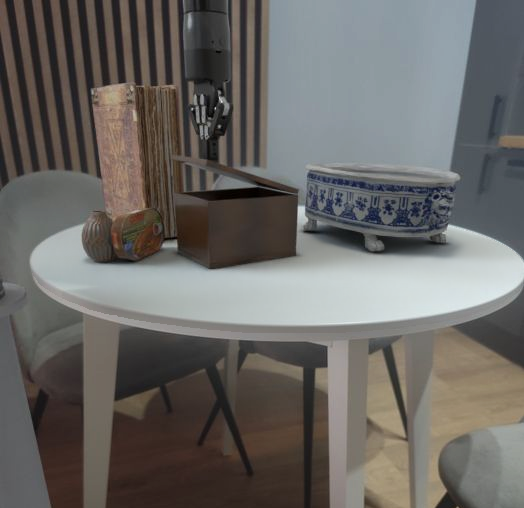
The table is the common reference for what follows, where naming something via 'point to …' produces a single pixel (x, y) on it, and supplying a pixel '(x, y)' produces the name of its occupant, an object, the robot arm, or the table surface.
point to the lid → (234, 173)
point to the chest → (236, 225)
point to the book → (139, 148)
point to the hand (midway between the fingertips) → (211, 162)
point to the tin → (138, 234)
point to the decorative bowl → (381, 200)
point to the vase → (98, 237)
